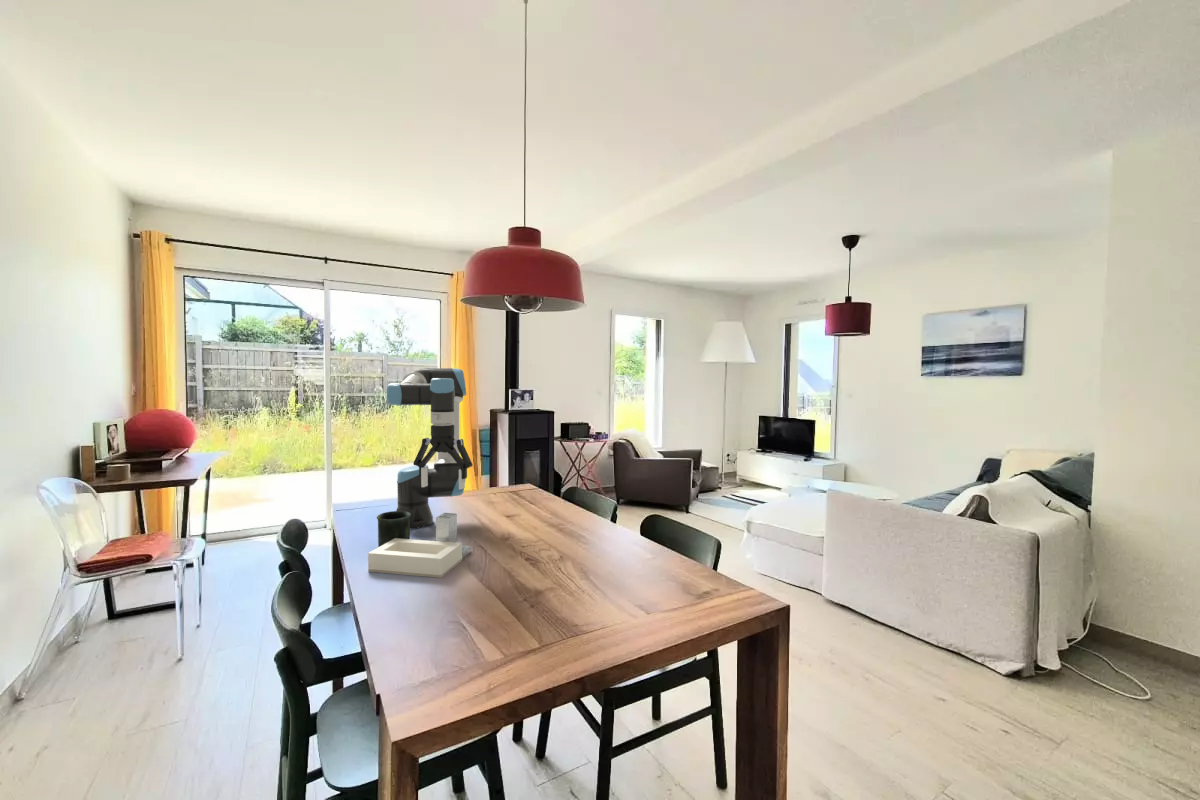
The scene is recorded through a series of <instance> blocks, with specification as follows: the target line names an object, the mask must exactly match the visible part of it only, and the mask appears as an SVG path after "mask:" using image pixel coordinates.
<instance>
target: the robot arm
mask: <svg viewBox="0 0 1200 800" xmlns="http://www.w3.org/2000/svg"><path fill="white" fill-rule="evenodd" d="M465 396H467V387H466V379H465V375H464V371H463V369H461V368H453V367H450V368H449V367H448V368H445V367H441V368H439V367H438V368H436V367H435V368H433V367H432V368H430V367H424V368H419V369H415V370H413V371H410V372H408V373H407V374H406V375H404V376H403V378H402V380H401V383H398V382H395V383H388V385H387V387H386V401H387V404H389V405H390V406H425V405H426V406H430V424H432V425H431V426H430V437H431V438H429V437H425V438H422V439H421V445H420V447H419V449H418V453H417V454H416V456H415V459H414V461H413V465H412V466H407V467H404V468H401V469H400V470H399V471H398V473H397V480H396V483H397V508H396V510H395V511H406V512H409V513H411V516H410V530H413V529H414V530H415V529H421V528H426V527H428V526H430V525H432V524H433V523H434V516H433V513H432V511H431V507H430V504H429V498H444V497H445V498H447V497H449V498H450V497H460V496H462V495H463V494H464V491H465V488H466V479H468V469H469V468H472V467H473V462H472V460H471V458H470V456H469V454H468V451H467V450H466V447H465V445H464V439H463V438H460V403H461V402H463V401H464V397H465ZM429 445H431V446H432V447H430V449H429V451H428V452H427V449H428V447H429ZM426 452H427V454H426ZM436 453H437V460H436V461H435V463H433V468H429V466H428V464H427V463H429V461H430V460H431V459H432V458H433V456H434V455H435V454H436ZM425 454H426V455H425Z"/></svg>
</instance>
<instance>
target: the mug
mask: <svg viewBox="0 0 1200 800" xmlns="http://www.w3.org/2000/svg"><path fill="white" fill-rule="evenodd" d="M410 516H411V513H409V512H406V511H396V510H393V511H387V512H382V513H380V514H378V515H377V516H376V519H377V534H378V535H377V538H378V539H377V545H378V546H377V548H378V547H380V546H382V545H384V544H385V543H387V542H389V541H391V540H393V539H394V538H399V539H411V536H410V535H411V533H410V532H411V529H410Z"/></svg>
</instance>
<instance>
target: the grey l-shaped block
mask: <svg viewBox="0 0 1200 800" xmlns="http://www.w3.org/2000/svg"><path fill="white" fill-rule="evenodd" d="M457 515H458V514H457V513H456V512H453V513H452V512H443V513H442V514H440V515H438V516H436V517H435V541H441V542H455V543H458V516H457ZM471 550H472V549H471V545H463V544H462V559H464V558H465V557H466V556H467V555H469V554H470V553H471Z"/></svg>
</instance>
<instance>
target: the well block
mask: <svg viewBox="0 0 1200 800" xmlns="http://www.w3.org/2000/svg"><path fill="white" fill-rule="evenodd" d="M462 545H463V542H457V543H455V542H441V541H436V540H424V539H423V540H422V539H411V538H410V539H399V538H394V539H393V540H391V541H389V542H387V543H385V544H384V545H382V546H380V547H378V546H377V548H375V549H373V550H371V551H369V552H368V553H367V555H368V557H367V561H368V562H367V563H368V567H367V569H368V571H367V572H368V573H369V572H370V573H381V574H389V575H390V574H392V575H403V576H415V577H428V578H437V579H441V578H443V577H444V576H445V575H446V574H448V573H449V572H450V571H451V570H452V569H454V568H455V567H456V566H457V565H459V564H460V563H461V562H462V561H463V558H462Z"/></svg>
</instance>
